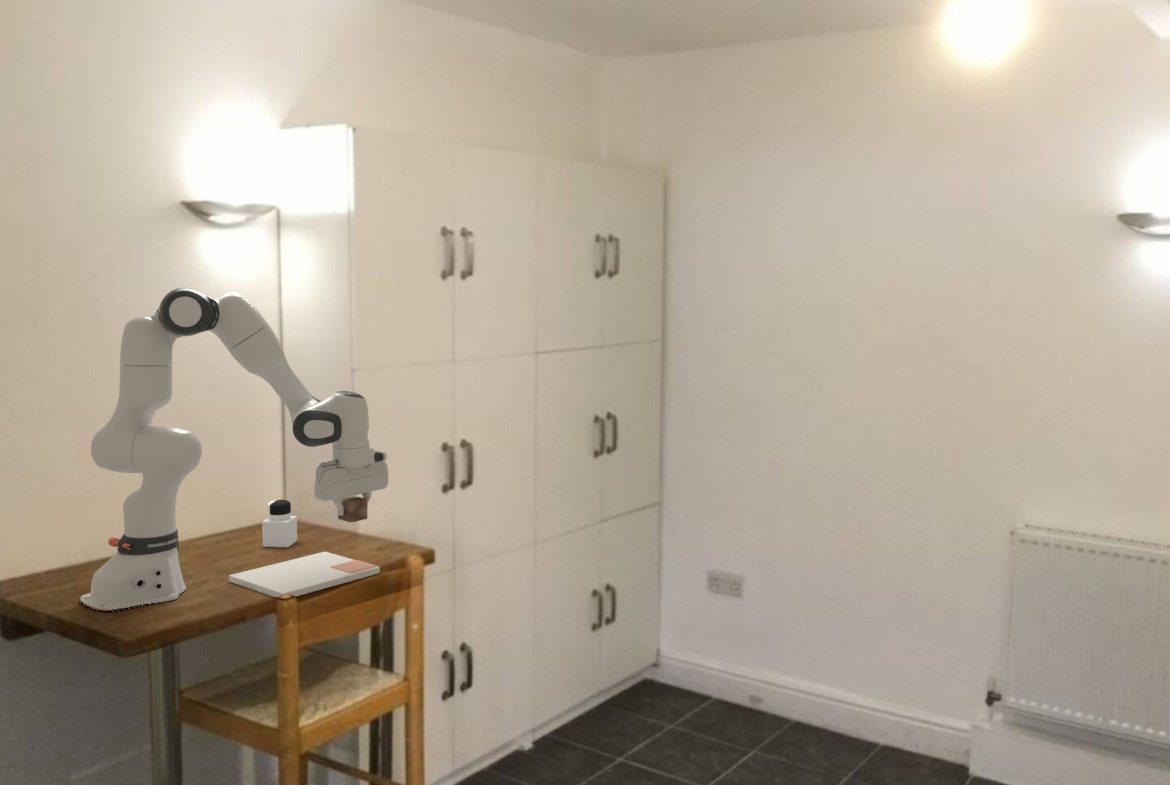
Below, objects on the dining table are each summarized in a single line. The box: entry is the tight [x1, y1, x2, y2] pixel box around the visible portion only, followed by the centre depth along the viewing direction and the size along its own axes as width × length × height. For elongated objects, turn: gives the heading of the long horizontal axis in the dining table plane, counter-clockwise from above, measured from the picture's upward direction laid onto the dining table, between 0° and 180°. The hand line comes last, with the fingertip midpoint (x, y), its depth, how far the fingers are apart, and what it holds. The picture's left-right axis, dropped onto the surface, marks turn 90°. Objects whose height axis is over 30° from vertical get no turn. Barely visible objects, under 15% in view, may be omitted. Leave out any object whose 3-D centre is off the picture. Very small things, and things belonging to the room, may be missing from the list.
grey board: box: [228, 551, 381, 599], centre depth 260 cm, size 28×22×2 cm
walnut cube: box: [337, 495, 368, 523], centre depth 262 cm, size 5×5×5 cm
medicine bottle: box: [261, 499, 298, 549], centre depth 290 cm, size 7×7×12 cm
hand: (352, 512), depth 262 cm, fingers closed on walnut cube, 5 cm apart
